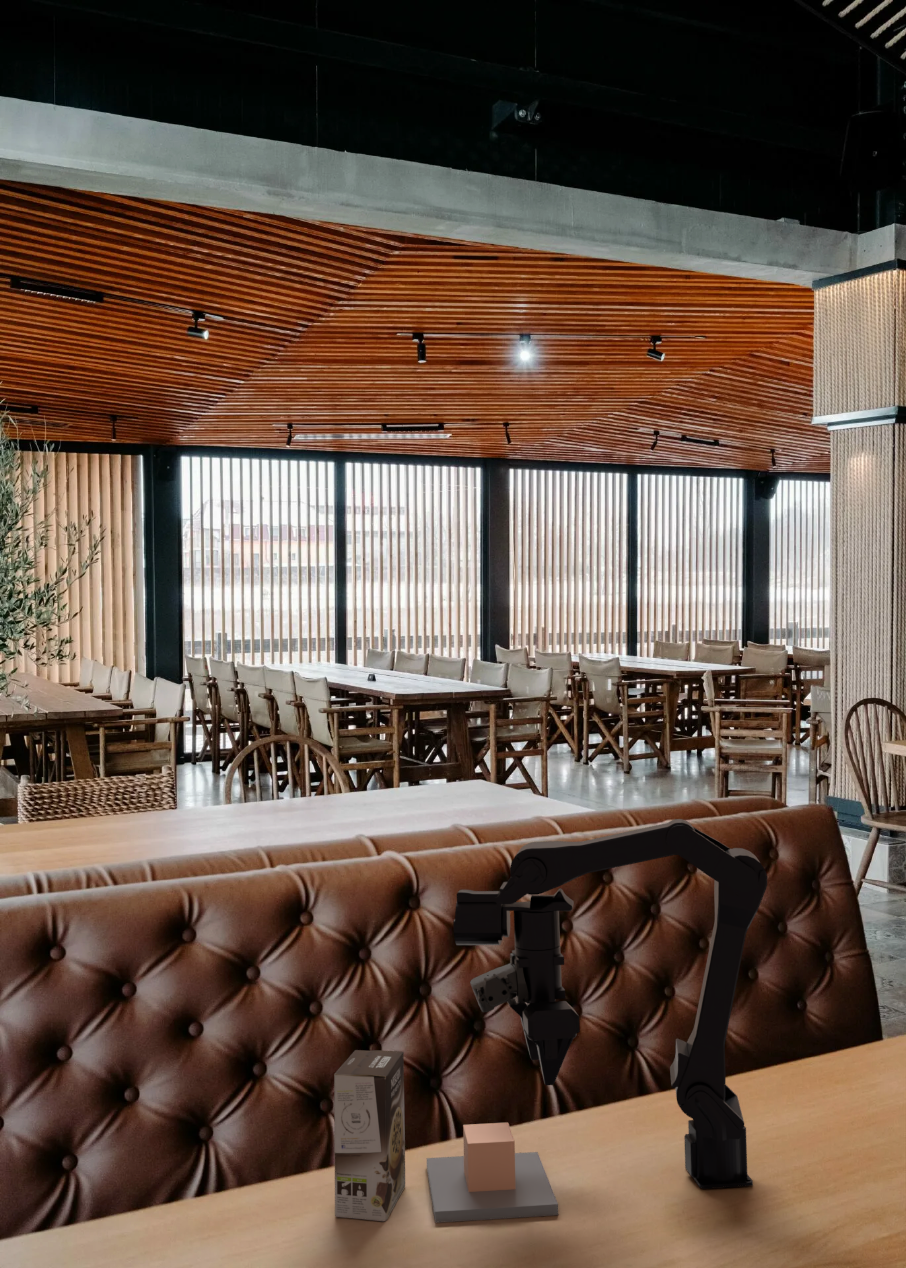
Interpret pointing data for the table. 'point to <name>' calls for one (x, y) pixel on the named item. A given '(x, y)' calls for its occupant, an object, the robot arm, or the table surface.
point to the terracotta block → (489, 1157)
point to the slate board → (489, 1192)
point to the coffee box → (369, 1134)
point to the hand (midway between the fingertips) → (541, 1071)
